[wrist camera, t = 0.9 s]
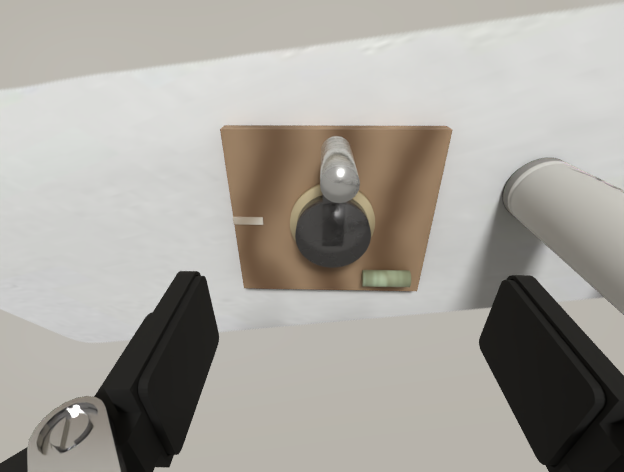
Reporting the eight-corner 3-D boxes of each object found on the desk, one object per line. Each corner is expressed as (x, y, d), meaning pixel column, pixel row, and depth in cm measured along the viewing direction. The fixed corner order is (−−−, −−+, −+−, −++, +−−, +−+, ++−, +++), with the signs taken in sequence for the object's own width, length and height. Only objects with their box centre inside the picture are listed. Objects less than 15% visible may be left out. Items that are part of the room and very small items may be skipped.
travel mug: (517, 229, 33) (720, 422, 16) (491, 183, 31) (699, 355, 14) (580, 195, 31) (891, 377, 14) (558, 142, 29) (903, 287, 12)
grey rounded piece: (378, 130, 26) (401, 166, 18) (365, 256, 33) (378, 321, 25) (293, 130, 26) (281, 165, 19) (297, 255, 33) (289, 320, 25)
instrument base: (446, 126, 28) (460, 135, 25) (413, 282, 38) (421, 302, 35) (224, 125, 29) (214, 134, 26) (246, 280, 38) (240, 298, 35)
